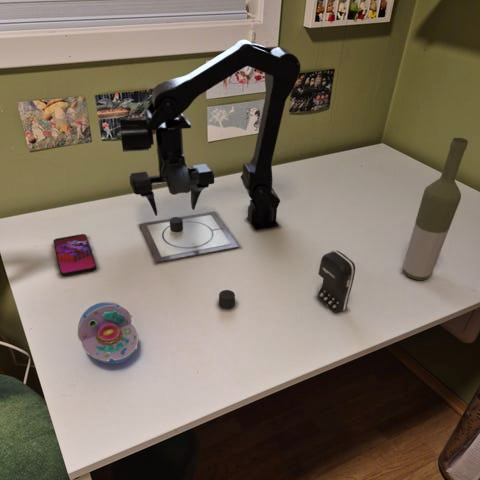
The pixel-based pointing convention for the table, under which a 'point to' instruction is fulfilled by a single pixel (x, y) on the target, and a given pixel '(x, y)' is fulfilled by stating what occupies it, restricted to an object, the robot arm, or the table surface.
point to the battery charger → (336, 280)
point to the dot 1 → (176, 224)
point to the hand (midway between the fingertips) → (174, 212)
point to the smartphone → (74, 254)
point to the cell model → (107, 332)
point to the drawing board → (188, 237)
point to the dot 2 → (226, 299)
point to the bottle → (435, 217)
